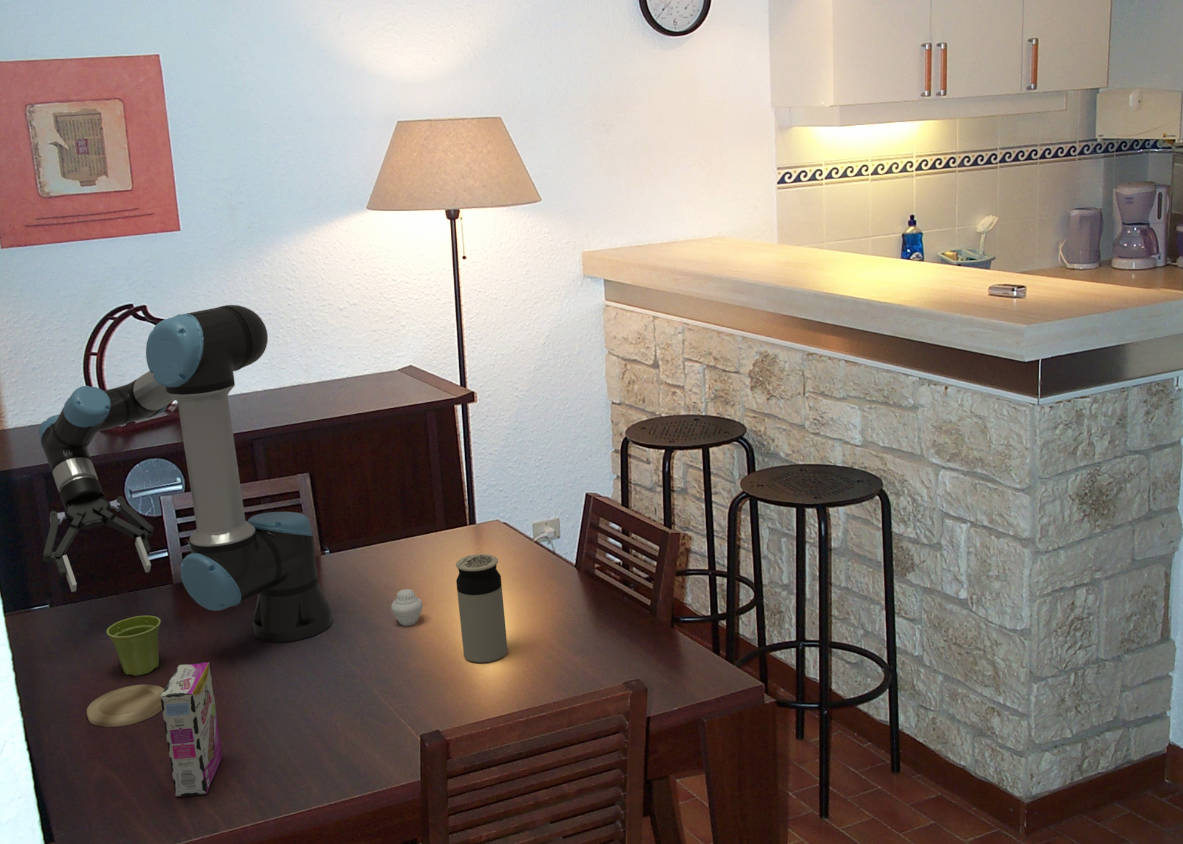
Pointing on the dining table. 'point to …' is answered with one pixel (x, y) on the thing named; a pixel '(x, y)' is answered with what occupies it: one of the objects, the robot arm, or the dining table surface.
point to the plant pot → (136, 643)
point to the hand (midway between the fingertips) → (112, 578)
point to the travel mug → (481, 608)
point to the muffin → (407, 607)
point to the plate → (125, 706)
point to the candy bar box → (191, 729)
